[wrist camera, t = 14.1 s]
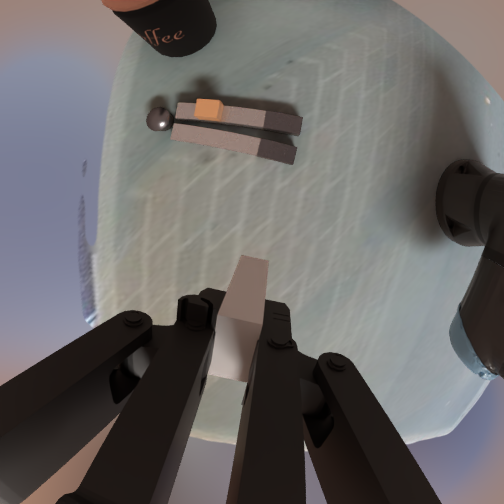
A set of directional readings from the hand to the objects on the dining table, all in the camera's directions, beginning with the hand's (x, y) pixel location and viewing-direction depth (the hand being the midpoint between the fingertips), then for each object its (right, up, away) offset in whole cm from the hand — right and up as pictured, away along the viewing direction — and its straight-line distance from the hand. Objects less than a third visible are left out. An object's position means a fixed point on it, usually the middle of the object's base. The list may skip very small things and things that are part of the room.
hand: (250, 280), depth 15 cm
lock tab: (-5, +21, +19) cm, 28 cm away
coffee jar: (-10, +36, +17) cm, 42 cm away
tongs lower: (-4, +20, +22) cm, 30 cm away
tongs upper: (-2, +17, +22) cm, 28 cm away
